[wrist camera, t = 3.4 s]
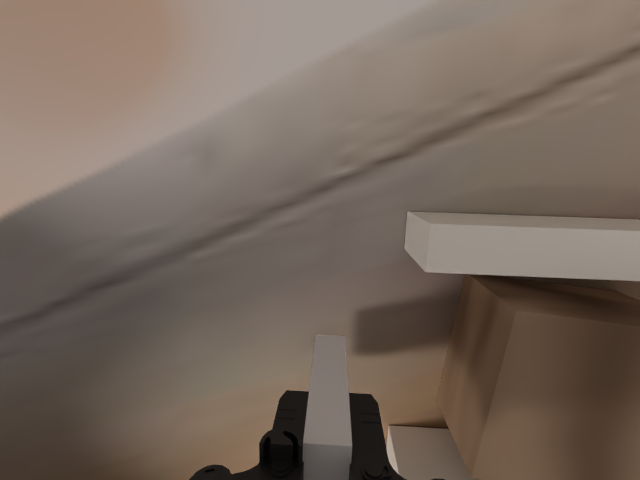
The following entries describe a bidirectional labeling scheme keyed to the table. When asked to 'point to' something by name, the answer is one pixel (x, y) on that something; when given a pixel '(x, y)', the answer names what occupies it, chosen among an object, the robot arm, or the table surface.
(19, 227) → the table surface
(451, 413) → the block
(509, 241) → the chute
